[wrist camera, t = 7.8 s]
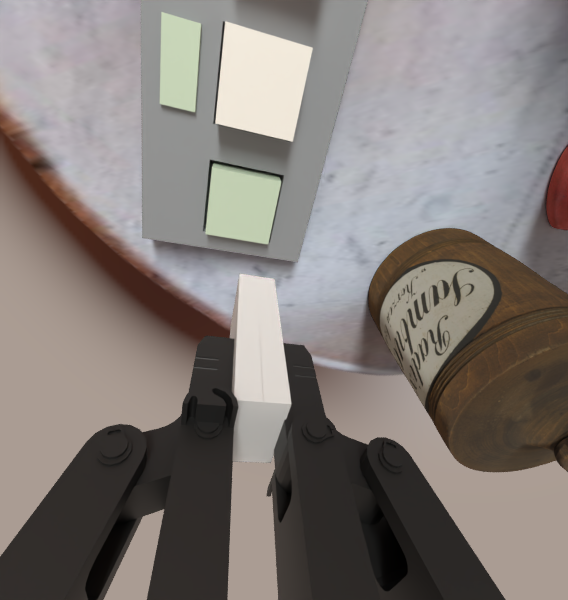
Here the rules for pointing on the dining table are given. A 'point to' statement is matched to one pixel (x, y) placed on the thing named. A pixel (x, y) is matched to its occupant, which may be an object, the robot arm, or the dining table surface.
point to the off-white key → (261, 82)
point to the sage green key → (242, 202)
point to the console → (226, 140)
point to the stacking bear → (559, 194)
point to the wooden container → (478, 347)
